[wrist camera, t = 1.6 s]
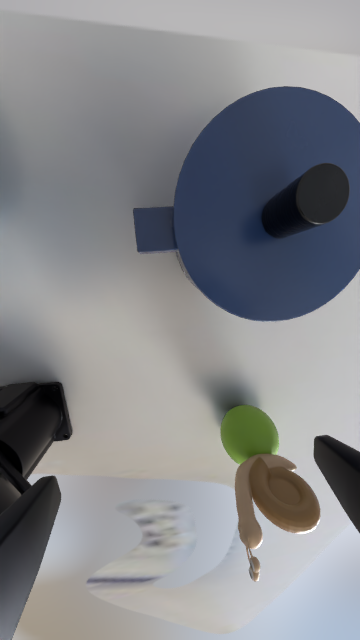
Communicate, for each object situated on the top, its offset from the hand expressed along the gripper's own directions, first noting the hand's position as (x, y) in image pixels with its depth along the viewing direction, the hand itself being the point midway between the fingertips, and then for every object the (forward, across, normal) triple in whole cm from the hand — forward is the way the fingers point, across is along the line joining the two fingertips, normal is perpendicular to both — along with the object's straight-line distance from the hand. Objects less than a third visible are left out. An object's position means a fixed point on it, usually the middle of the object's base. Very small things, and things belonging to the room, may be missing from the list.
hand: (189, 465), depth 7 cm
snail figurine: (+14, -6, +10) cm, 18 cm away
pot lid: (+6, -6, -9) cm, 13 cm away
